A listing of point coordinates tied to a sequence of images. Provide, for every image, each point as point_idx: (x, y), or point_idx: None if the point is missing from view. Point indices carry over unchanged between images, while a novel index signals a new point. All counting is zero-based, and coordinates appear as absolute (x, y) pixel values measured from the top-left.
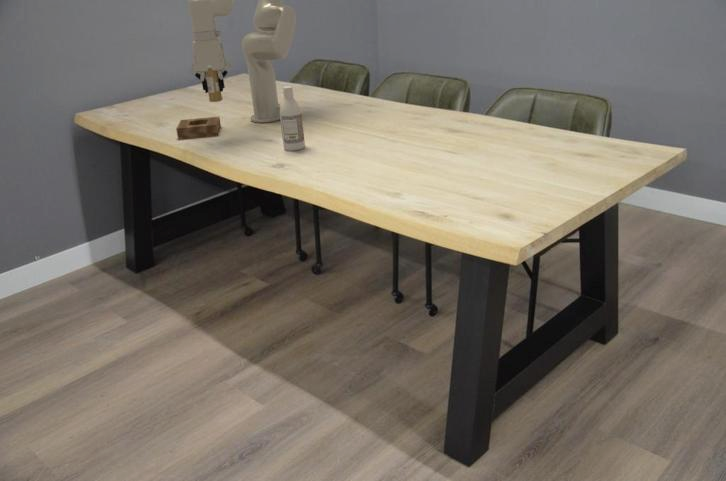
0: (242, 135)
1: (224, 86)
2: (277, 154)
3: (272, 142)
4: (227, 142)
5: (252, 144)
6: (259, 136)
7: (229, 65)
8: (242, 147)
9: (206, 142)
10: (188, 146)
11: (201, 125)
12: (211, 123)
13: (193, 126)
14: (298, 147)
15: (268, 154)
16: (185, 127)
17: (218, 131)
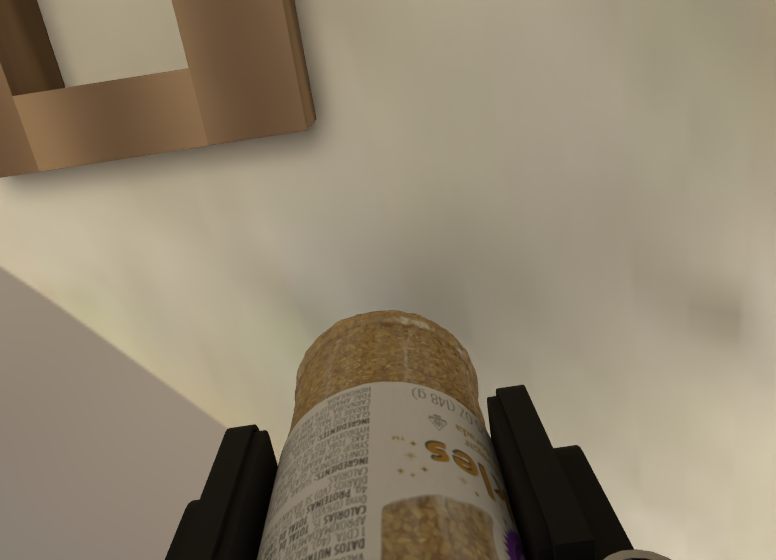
0: (518, 143)
1: (579, 449)
2: (757, 556)
3: (741, 353)
4: (433, 304)
5: (612, 373)
6: (653, 197)
7: None
8: (553, 421)
9: (274, 278)
10: (173, 349)
11: (159, 121)
12: (238, 62)
13: (89, 143)
14: None
15: (709, 551)
16: (20, 164)
17: (300, 44)
